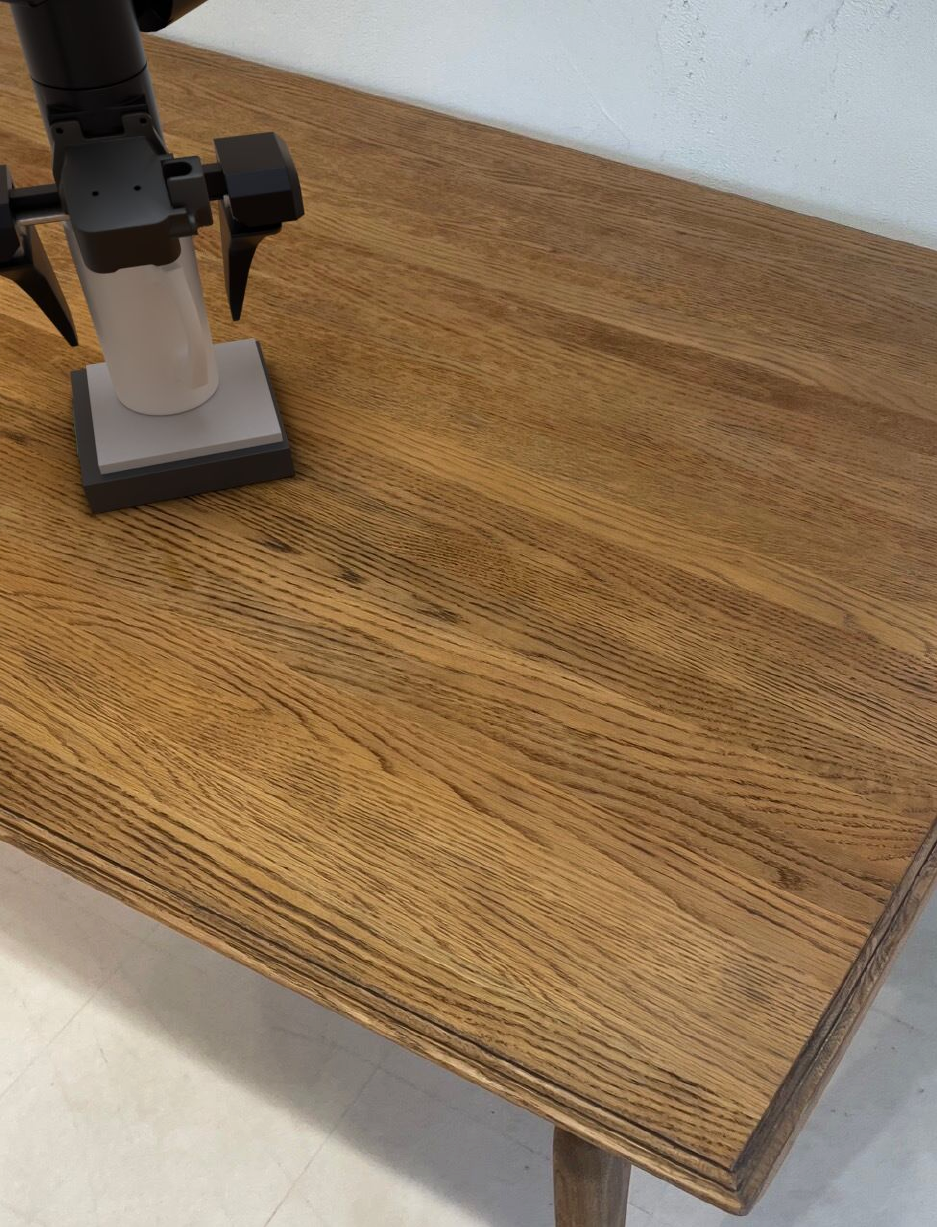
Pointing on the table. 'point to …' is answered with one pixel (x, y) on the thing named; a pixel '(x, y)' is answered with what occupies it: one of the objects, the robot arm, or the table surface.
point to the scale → (180, 436)
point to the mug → (152, 331)
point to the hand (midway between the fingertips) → (156, 330)
